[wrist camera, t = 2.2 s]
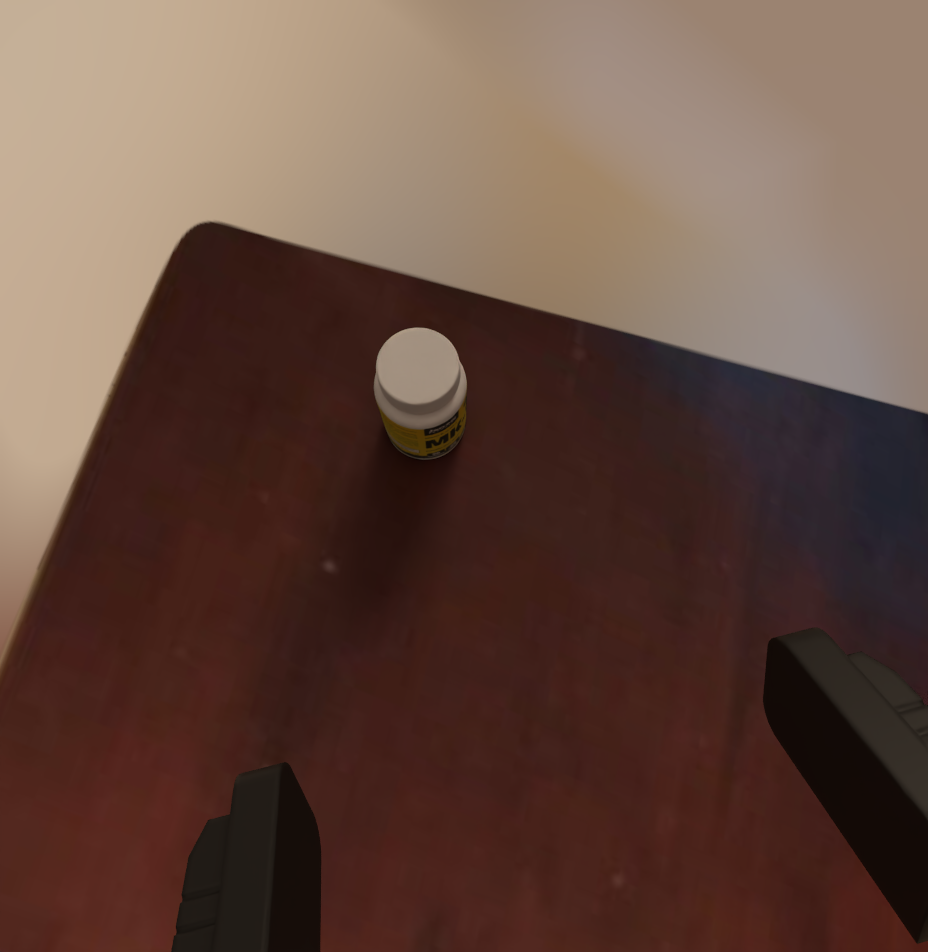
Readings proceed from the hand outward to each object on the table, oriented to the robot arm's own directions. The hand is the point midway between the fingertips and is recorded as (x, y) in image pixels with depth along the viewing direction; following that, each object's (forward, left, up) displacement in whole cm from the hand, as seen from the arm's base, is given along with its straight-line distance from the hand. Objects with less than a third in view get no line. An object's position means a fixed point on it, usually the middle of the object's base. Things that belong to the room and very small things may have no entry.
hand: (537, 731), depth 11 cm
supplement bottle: (-13, -7, -27) cm, 30 cm away
